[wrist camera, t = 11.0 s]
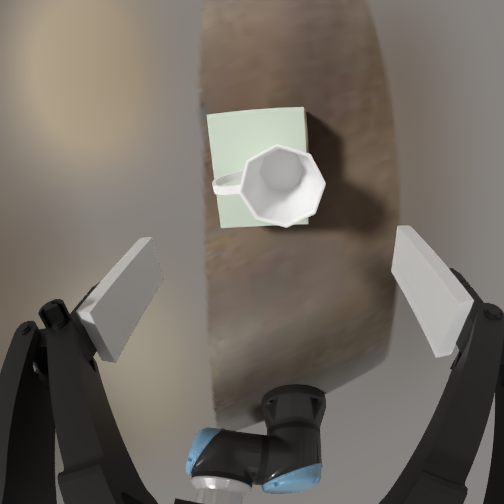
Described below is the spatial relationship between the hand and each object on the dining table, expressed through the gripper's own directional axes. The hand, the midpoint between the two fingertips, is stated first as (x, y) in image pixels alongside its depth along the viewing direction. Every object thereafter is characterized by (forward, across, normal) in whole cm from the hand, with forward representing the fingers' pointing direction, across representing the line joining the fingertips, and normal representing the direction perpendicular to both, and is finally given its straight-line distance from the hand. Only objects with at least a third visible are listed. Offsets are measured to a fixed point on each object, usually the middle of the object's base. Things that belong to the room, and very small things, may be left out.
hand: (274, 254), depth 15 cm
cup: (+17, +1, -1) cm, 17 cm away
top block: (+21, +2, -1) cm, 21 cm away
